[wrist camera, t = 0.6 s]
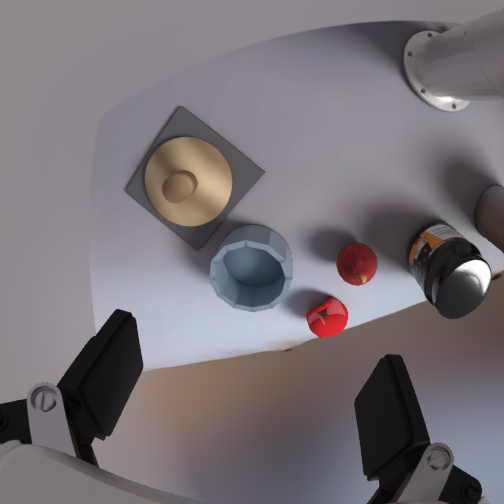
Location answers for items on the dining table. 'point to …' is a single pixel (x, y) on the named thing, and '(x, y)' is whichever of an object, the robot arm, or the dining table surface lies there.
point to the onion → (356, 264)
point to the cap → (328, 318)
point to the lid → (188, 181)
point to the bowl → (252, 268)
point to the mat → (240, 165)
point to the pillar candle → (491, 216)
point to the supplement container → (448, 270)
